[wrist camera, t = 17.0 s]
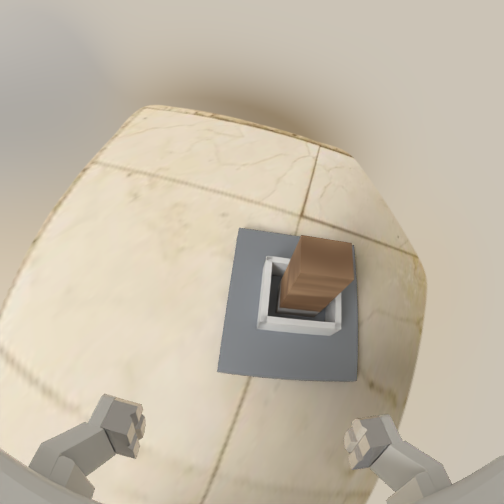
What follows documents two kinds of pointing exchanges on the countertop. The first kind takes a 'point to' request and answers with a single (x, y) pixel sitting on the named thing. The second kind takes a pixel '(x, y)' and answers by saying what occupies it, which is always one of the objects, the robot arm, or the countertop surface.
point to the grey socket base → (283, 320)
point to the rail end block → (314, 276)
